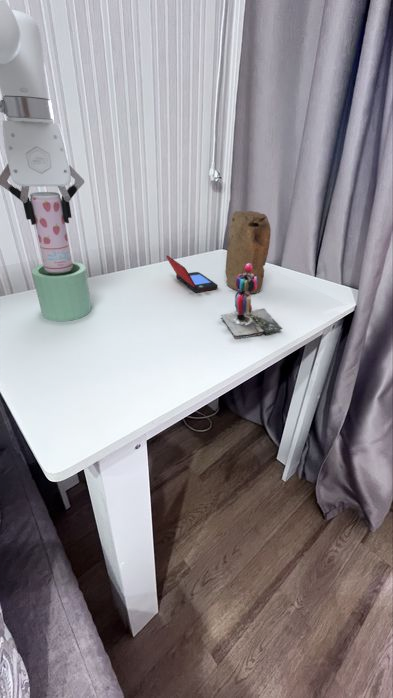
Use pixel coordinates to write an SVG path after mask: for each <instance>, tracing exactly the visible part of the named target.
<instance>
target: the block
mask: <svg viewBox="0 0 393 698" xmlns="http://www.w3.org/2000/svg"><path fill="white" fill-rule="evenodd" d="M271 231H272V230H271V224H270V221H269V219H268V216H267V215H266V214H265V213H261V212H259V211H252V210H248V211H247V210H246V211H245V210H236V211H233V213H232V215H231V219H230V225H229V233H228V239H227V247H226V256H225V257H226V258H225V259H226V260H225V272H224V273H225V277H226V284H227V286H228V287H229V288H230V289H231V290H234V291H236V292H238V291H240V290H237V287H236V279H237V276H238V275H240V274H242V275H243V274H244V273H246V271H245V266H246V264H248V263H250V264H251V265H252V271H251V273H250V274H253V275H254V276H255V275H256V276H257V277H258V280H257V289H256V290H253V291H251V292H250V294H256V293H258V292H260V291H261V290H262V287H263V283H264V276H265V268H264V267H265V265H266V263H267V259H268V254H269V250H270V244H271V243H270V242H271V236H272V235H271V234H272V233H271Z"/></svg>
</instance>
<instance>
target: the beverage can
mask: <svg viewBox="0 0 393 698" xmlns="http://www.w3.org/2000/svg"><path fill="white" fill-rule="evenodd" d="M29 196H30V198H29V200H30V201H31V205H32V209H33V214H34V219H35V230H36V234H37V239H38V243H39V249H40V253H41V258H42V262H43V263H42V264H44V268H45V270H46V271H47V272H49V273H65V272H68V271H70V270H71V269H72V268H73V265H72V262H73V261H72V259H73V258H72V255H71V248H70V242H69V236H68V231H67V223H65V219H64V213H63V207H62V197H61V194H60V193H59V192H53V191H37V192H32V193H29Z"/></svg>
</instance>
